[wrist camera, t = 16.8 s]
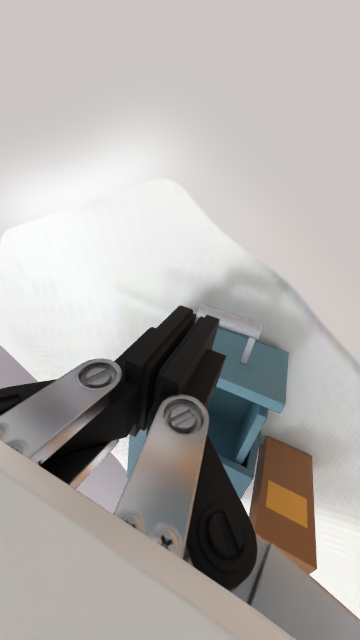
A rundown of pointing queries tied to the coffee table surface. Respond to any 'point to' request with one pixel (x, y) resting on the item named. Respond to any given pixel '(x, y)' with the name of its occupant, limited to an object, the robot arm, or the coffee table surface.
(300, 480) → the brown rectangular box
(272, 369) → the drawer
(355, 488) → the coffee table surface
